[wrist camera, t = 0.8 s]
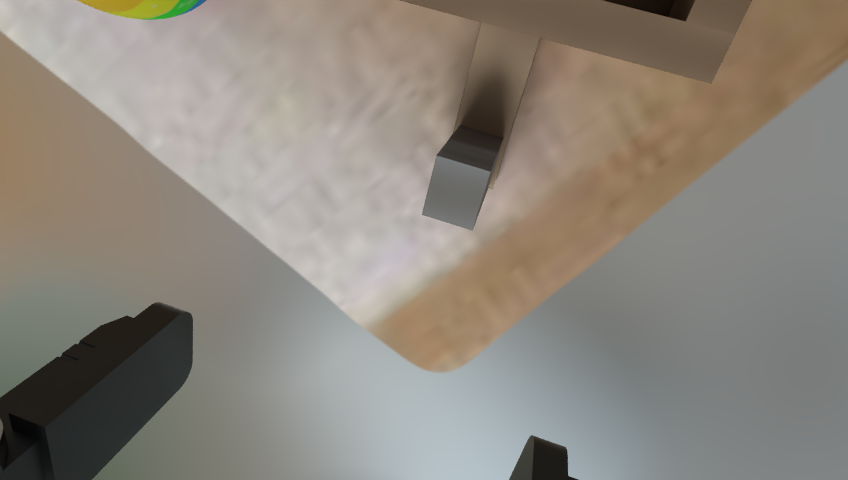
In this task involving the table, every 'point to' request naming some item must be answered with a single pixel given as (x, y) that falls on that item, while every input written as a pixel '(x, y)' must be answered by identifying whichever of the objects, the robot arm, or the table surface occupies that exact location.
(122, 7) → the decorative egg
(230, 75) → the table surface
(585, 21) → the frame
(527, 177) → the table surface
